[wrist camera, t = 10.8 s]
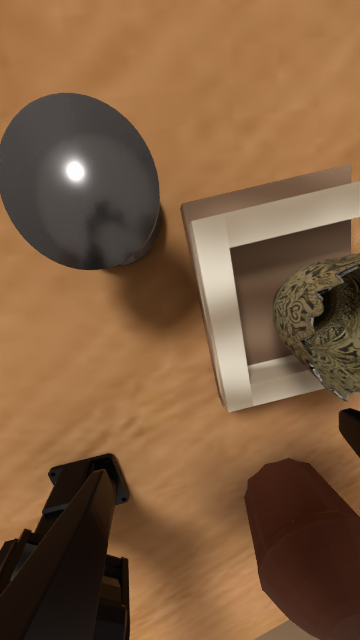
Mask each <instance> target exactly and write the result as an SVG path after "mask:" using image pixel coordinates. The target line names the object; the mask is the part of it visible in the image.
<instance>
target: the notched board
mask: <svg viewBox="0 0 360 640" xmlns="http://www.w3.org/2000/svg"><path fill="white" fill-rule="evenodd" d="M180 210H181V215H182V219H183V224H184V229H185V234H186V239H187V244H188V249H189V253H190V258H191V263H192V268H193V273H194V278H195V283H196V287H197V292H198V297H199V302H200V307H201V312H202V317H203V321H204V326H205V331H206V336H207V341H208V346H209V351H210V355H211V360H212V365H213V370H214V375H215V380H216V385H217V389H218V394H219V398H220V400H221V403H222V405H223V407H224V406H226V407H227V410H228V412H232V411H236V410H240V409H244V408H248V407H252V406H256V405H260V404H264V403H268V402H272V401H276V400H280V399H284V398H288V397H293V396H297V395H301V394H305V393H309V392H313V391H317V390H321V389H325V387H324V386H323V385H322V384H321V383H320V381H319V380H318V379H317V378H316V377H315V376H314V375H313V374H312V373H311V372H310V371H309V370H308V369H307V368H306V367H305V366H304V365H303V364H302V363H301V362H300V361H299V360H298V359H297V358H296V357H295V356H294V355H293V354H292V353H291V352H290V350H289V349H288V348H287V347H286V346H285V344H284V343H283V342H282V340H281V339H280V337H279V335H278V334H277V331H276V329H275V326H274V322H273V299H274V296H275V293H276V292H277V290H278V289H279V288H280V287H281V286H282V285H283V284H284V283H285V281H286V280H287V279H288V278H289V277H290V276H292V275H293V274H294V273H295V272H297V271H298V270H300V269H301V268H303V267H305V266H307V265H310V264H312V263H315V262H318V261H322V260H325V259H330V258H335V257H341V256H347V255H351V219H353V218H357V217H360V181H358V182H354V183H351V164H348V165H344V166H339V167H335V168H331V169H327V170H322V171H318V172H314V173H310V174H306V175H301V176H297V177H293V178H289V179H284V180H280V181H276V182H272V183H268V184H263V185H259V186H255V187H251V188H246V189H242V190H238V191H234V192H229V193H225V194H221V195H217V196H213V197H208V198H204V199H200V200H196V201H191V202H187V203H183V204H182V205H181V208H180Z"/></svg>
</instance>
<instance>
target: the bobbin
mask: <svg viewBox="0 0 360 640" xmlns="http://www.w3.org/2000/svg"><path fill="white" fill-rule="evenodd" d="M0 194H1V198H2V201H3V203H4V206H5V209H6V211H7V213H8V215H9V217H10V219H11V221H12V222H13V224H14V225H15V227H16V229H17V230H18V231H19V232H20V234H21V235H22V236H23V237H24V239H25V240H26V241H27V242H28V243H29V244H30V245H31V246H32V247H34V248H35V249H36V250H37V251H39V252H40V253H41V254H43V255H44V256H46V257H47V258H49V259H51V260H53V261H55V262H57V263H59V264H62V265H64V266H67V267H71V268H75V269H82V270H99V269H104V268H110V267H113V266H120V265H126V264H130V263H133V262H135V261H137V260H139V259H140V258H142V257H143V256H144V255H145V254H147V253H148V251H149V250H150V249H151V248H152V246H153V245H154V243H155V241H156V239H157V236H158V233H159V229H160V221H161V217H160V206H159V202H160V196H159V182H158V176H157V171H156V167H155V164H154V161H153V158H152V156H151V153H150V151H149V149H148V147H147V145H146V143H145V142H144V140H143V138H142V137H141V135H140V134H139V133H138V131H137V130H136V129H135V127H134V126H133V125H132V124H131V123H130V122H129V121H128V120H127V119H126V118H125V117H124V116H123V115H122V114H120V113H119V112H118V111H117V110H115V109H114V108H112V107H111V106H109V105H108V104H106V103H104V102H102V101H100V100H98V99H95V98H92V97H89V96H86V95H81V94H75V93H58V94H51V95H48V96H45V97H42V98H39V99H37V100H35V101H33V102H31V103H30V104H28V105H27V106H26V107H24V108H23V109H22V110H21V111H20V112H19V113H18V114H17V115H16V116H15V117H14V118H13V120H12V121H11V123H10V124H9V126H8V127H7V129H6V131H5V133H4V136H3V138H2V141H1V144H0Z"/></svg>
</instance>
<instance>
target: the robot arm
mask: <svg viewBox="0 0 360 640" xmlns="http://www.w3.org/2000/svg"><path fill="white" fill-rule="evenodd" d="M339 430H340V432H341V434H342V436H343V437H344V438H345V440H346V441H347V442H348V443H349V445H350V446H351V447H352V449H353V450H354V451H355V452H356V454H357V455H358V456H359V458H360V411H357V410H355V409H351V408H348V409H344V410H341V411H340V412H339ZM48 476H49V478H50V480H51V481H52V483H53V485H54V487H53V489H52V491H51V493H50V495H49V498H48V500H47V502H46V504H45V506H44V508H43V510H42V514H43V515H42V517H41V519H40V521H39V523H38V525H37V528H36V530H35V532H34V533H32V532H31V531H32V530H28V529H24V530H23V532H22V534H21V535H20V537H19V538H18V539H16V538H15V539H14V540H10V541H6V542H5V543H4V544H3V546H2V548H1V550H0V640H129V636H130V610H129V570H128V559H127V558H124V557H121V558H118V557H115V556H111V555H108V554H107V547H108V538H109V533H110V528H111V523H112V518H113V512H114V507H115V505H118V504H122V503H126V502H127V501H128V500H129V493H128V491H127V488H126V486H125V483H124V481H123V479H122V476H121V474H120V471H119V469H118V467H117V464H116V462H115V459H114V457H113V455H111V454H104V455H100V456H96V457H92V458H88V459H84V460H80V461H76V462H72V463H68V464H64V465H60V466H56V467H53V468H51V469H50V471H49V473H48Z"/></svg>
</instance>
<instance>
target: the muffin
mask: <svg viewBox="0 0 360 640" xmlns="http://www.w3.org/2000/svg"><path fill="white" fill-rule="evenodd" d="M244 498H245V503H246V508H247V514H248V519H249V524H250V529H251V534H252V539H253V544H254V549H255V555H256V560H257V565H258V574H259V578H260V583H261V587H262V590H263V591H264V592H265V593H266V594H267V595H268V596H269V597H270V599H271V600H272V601H273V602H274V603H275V604H276V605H277V607H278V608H279V609H280V610H281V611H282V612H283V613H284V614H285V615H286V616H287V617H288V618H289V619H290V620H291V621H292V622H294V623H295V624H296V625H297V626H299V627H300V628H301V629H303V630H304V631H306V632H307V633H309V634H310V635H312V636H314V637H316V638H318V639H320V640H360V517H359V516H358V515H357V514H356V513H355V512H354V511H353V510H352V508H351V507H350V506H349V505H348V504H347V503H346V502H345V501H344V500H343V499H342V498H341V497H340V496H339V495H338V494H337V493H336V492H335V490H334V489H333V488H332V487H331V486H330V485H329V484H328V483H327V482H326V481H325V480H324V479H323V478H322V477H321V476H320V475H319V473H318V472H317V471H316V470H315V469H314V468H313V467H312V466H311V465H310V464H309V463H303V462H298V461H295V460H293V459H290V458H288V459H285V460H282V461H279V462H275V463H270V464H265V465H264V466H263V467H262V468H261V469H260V470H259V471H258V472H257V473H256V474H255V475H254V476H252V477H251V478H250V479H249V480H248V486H247V491H246V494H245V497H244Z"/></svg>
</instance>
